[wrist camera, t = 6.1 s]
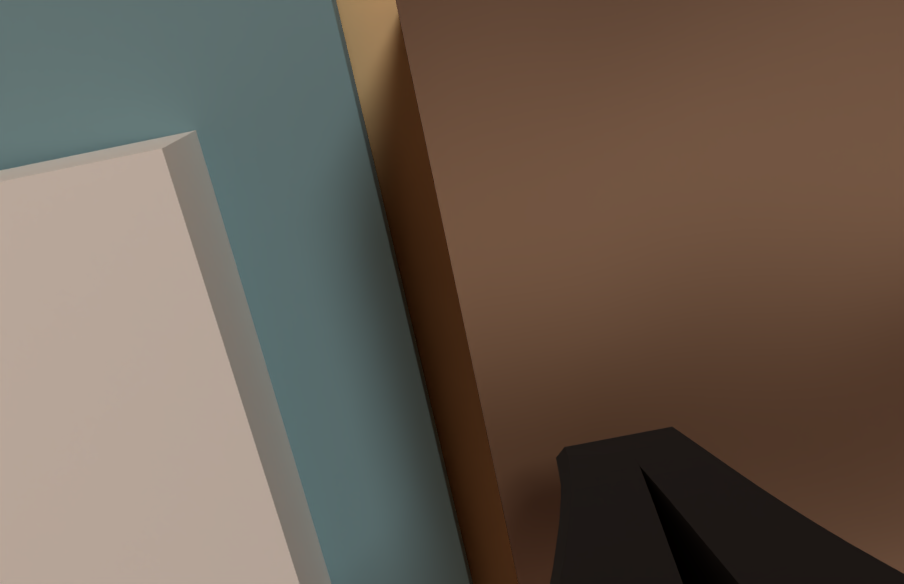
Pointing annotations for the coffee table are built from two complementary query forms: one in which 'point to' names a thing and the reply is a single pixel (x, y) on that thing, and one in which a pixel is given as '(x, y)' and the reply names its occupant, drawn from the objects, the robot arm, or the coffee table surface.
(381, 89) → the coffee table surface
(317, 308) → the mat
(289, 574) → the block
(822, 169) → the walnut deck
